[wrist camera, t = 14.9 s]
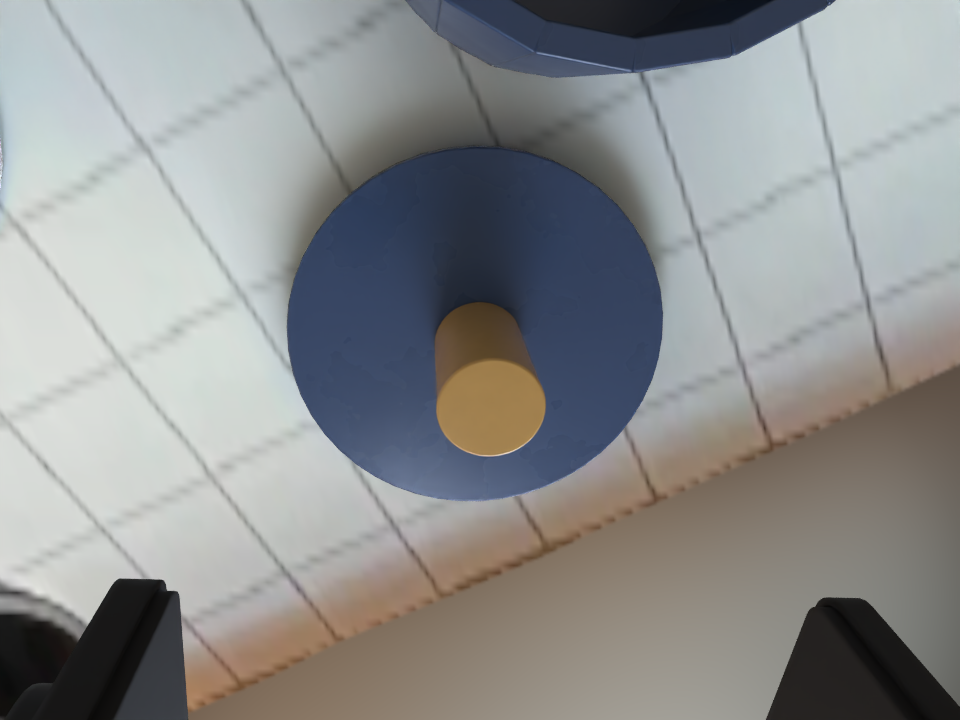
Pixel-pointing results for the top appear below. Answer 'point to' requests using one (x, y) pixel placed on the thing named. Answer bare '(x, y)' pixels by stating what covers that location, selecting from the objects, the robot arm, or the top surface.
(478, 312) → the tin lid
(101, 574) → the top surface
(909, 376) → the top surface
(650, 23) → the tin
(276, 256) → the top surface
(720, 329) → the top surface
